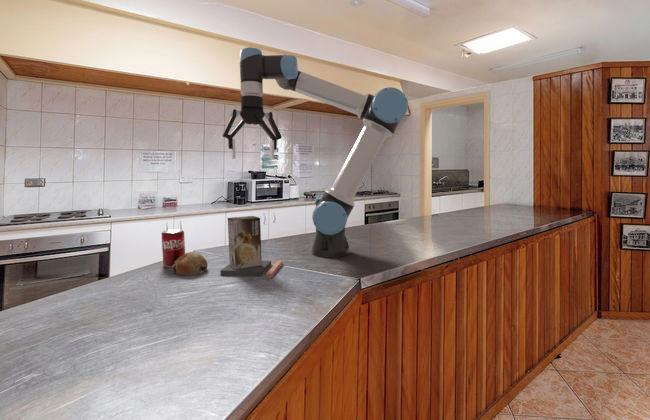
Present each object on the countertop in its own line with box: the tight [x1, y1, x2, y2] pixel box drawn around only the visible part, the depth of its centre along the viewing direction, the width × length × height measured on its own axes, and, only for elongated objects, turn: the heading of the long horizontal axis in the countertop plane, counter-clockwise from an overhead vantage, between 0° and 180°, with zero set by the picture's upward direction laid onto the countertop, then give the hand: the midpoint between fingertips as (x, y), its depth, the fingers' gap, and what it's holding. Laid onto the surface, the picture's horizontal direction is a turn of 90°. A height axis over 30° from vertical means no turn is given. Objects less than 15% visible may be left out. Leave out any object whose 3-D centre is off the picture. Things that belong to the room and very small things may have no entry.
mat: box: [220, 260, 272, 277], centre depth 117 cm, size 13×13×2 cm
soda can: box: [160, 229, 186, 268], centre depth 123 cm, size 7×7×12 cm
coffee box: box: [227, 215, 263, 269], centre depth 116 cm, size 9×6×16 cm
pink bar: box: [265, 260, 283, 279], centre depth 116 cm, size 2×16×1 cm, turn 175°
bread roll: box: [171, 252, 208, 276], centre depth 115 cm, size 10×10×8 cm
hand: (253, 159), depth 124 cm, fingers open, 13 cm apart
